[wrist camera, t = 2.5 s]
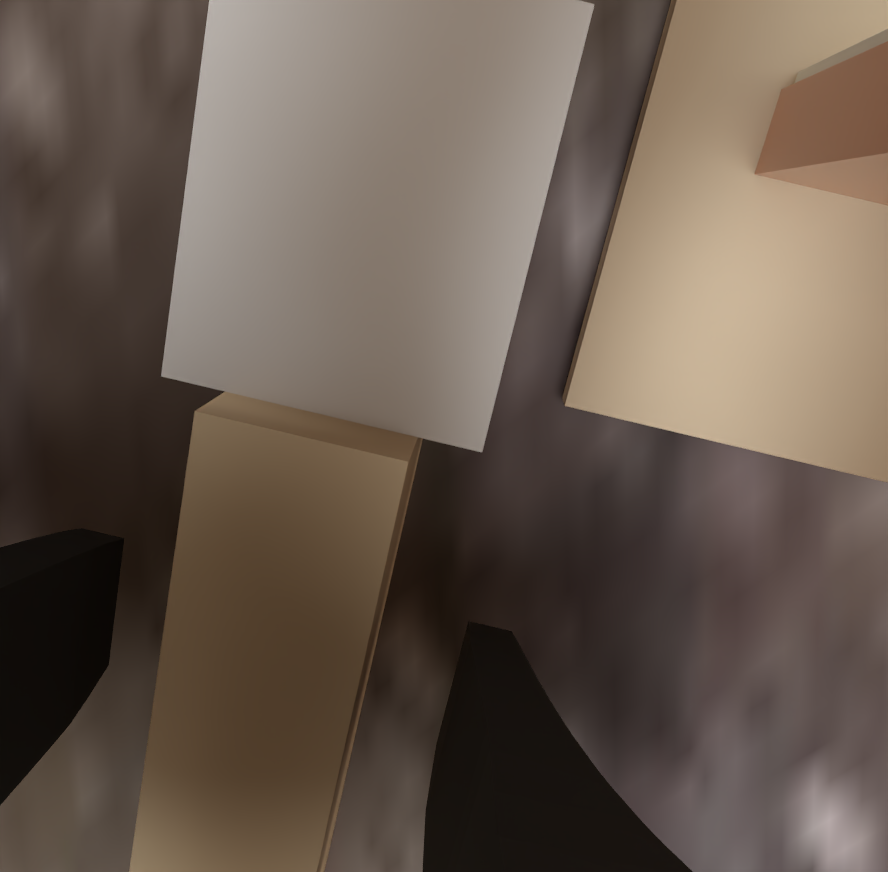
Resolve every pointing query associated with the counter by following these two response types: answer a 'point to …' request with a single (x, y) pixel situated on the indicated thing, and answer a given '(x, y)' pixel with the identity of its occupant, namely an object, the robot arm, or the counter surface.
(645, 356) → the cork mat
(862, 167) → the tile
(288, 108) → the turner
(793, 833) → the counter surface
